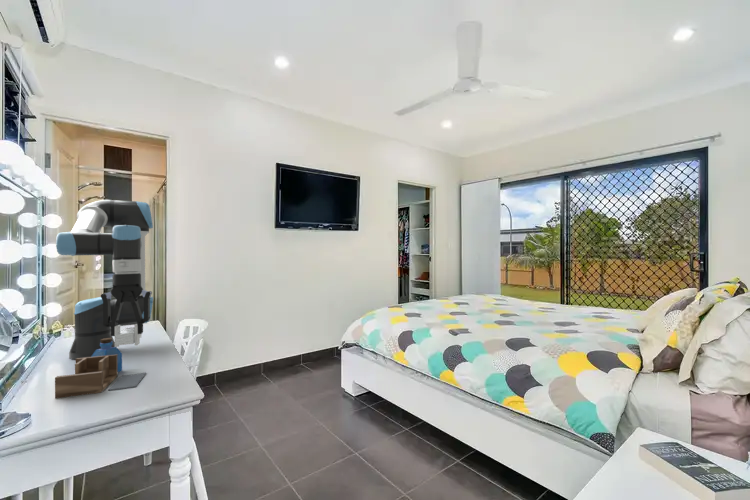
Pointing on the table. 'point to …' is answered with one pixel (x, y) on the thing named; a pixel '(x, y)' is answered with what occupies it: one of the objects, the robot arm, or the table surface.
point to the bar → (126, 336)
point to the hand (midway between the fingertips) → (127, 344)
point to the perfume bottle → (109, 351)
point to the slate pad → (127, 381)
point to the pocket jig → (88, 376)
